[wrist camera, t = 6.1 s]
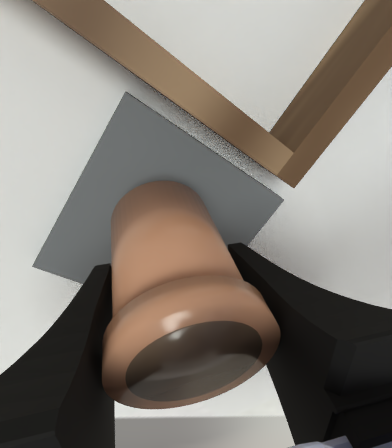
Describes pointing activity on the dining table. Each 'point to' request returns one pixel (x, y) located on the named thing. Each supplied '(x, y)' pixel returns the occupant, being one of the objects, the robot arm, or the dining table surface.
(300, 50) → the dining table surface
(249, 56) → the dining table surface
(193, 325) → the terracotta pot
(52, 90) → the dining table surface
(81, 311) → the robot arm
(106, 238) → the mat
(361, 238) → the dining table surface
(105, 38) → the frame
